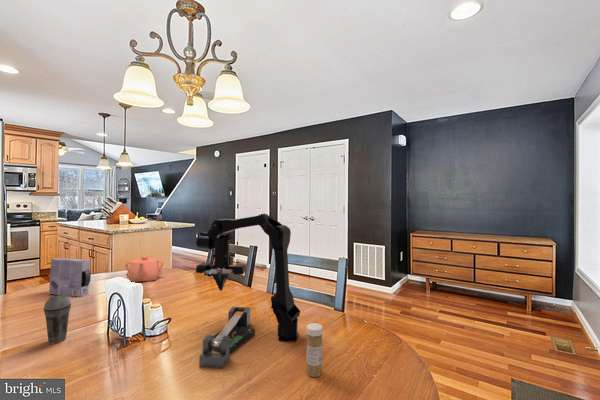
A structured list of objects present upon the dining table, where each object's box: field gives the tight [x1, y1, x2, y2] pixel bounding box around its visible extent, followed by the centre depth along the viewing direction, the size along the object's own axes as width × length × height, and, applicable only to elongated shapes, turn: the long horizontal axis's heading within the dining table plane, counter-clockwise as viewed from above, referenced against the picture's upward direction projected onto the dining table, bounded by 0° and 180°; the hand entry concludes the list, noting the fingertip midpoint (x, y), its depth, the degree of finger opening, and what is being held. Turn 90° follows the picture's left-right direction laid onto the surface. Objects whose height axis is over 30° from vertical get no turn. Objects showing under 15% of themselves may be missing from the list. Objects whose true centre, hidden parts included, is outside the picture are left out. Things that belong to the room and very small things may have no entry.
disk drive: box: [212, 325, 256, 355], centre depth 99 cm, size 10×3×15 cm
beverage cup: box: [43, 281, 72, 344], centre depth 98 cm, size 7×7×20 cm
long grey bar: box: [211, 311, 243, 348], centre depth 99 cm, size 3×25×2 cm, turn 175°
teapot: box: [124, 255, 164, 283], centre depth 168 cm, size 20×19×14 cm
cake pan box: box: [48, 257, 92, 298], centre depth 143 cm, size 19×5×18 cm, turn 82°
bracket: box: [198, 306, 252, 369], centre depth 98 cm, size 7×30×7 cm, turn 175°
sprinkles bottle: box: [305, 322, 324, 378], centre depth 82 cm, size 5×5×14 cm
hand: (221, 290), depth 113 cm, fingers closed
